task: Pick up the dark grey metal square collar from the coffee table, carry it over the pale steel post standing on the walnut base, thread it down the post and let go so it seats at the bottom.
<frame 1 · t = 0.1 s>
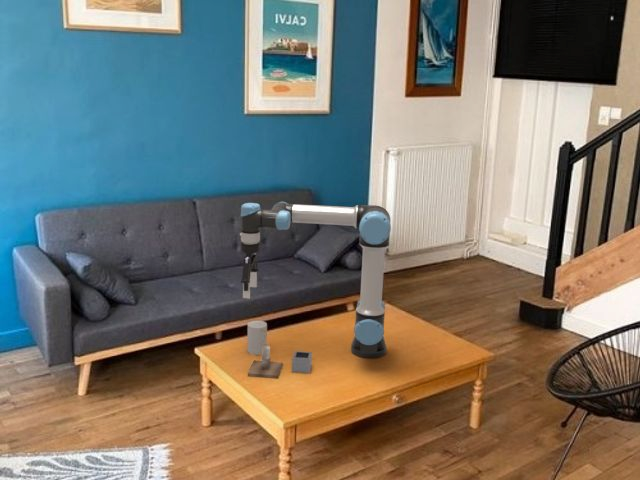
hand: (249, 292, 276), 28 cm above the table, fingers open, 13 cm apart
gold-veined taupe cylinder: (257, 351, 288), on the table
collar: (301, 368, 273), on the table
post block: (265, 370, 270), on the table
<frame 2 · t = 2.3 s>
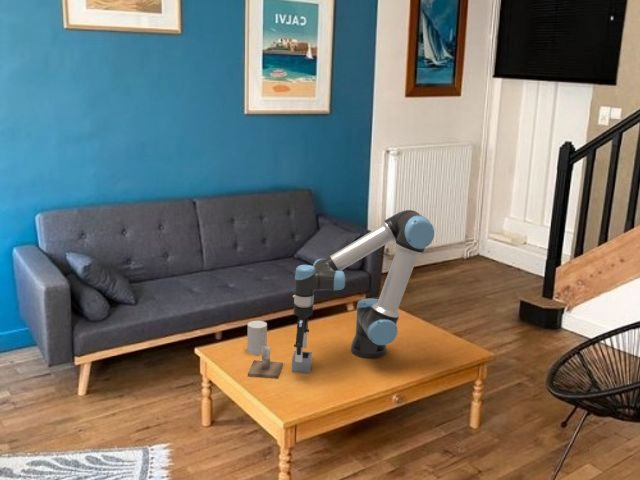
hand: (300, 354, 271), 6 cm above the table, fingers open, 13 cm apart
nothing on the table moved.
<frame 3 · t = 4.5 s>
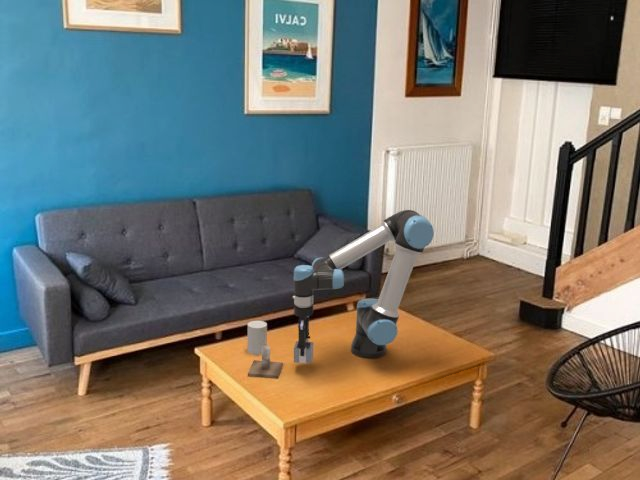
hand: (303, 358, 272), 5 cm above the table, fingers closed on collar, 7 cm apart
collar: (303, 359, 272), point 4 cm above the table, touching gripper
everything else where it was.
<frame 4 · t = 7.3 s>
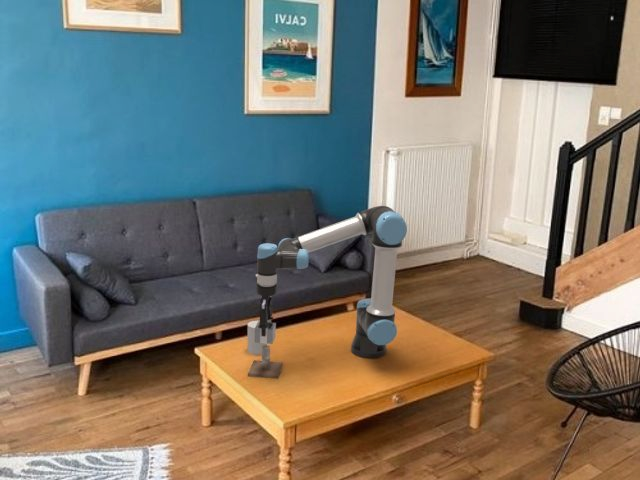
hand: (265, 339, 267), 14 cm above the table, fingers closed on collar, 7 cm apart
collar: (265, 339, 267), point 13 cm above the table, touching gripper
everything else where it was.
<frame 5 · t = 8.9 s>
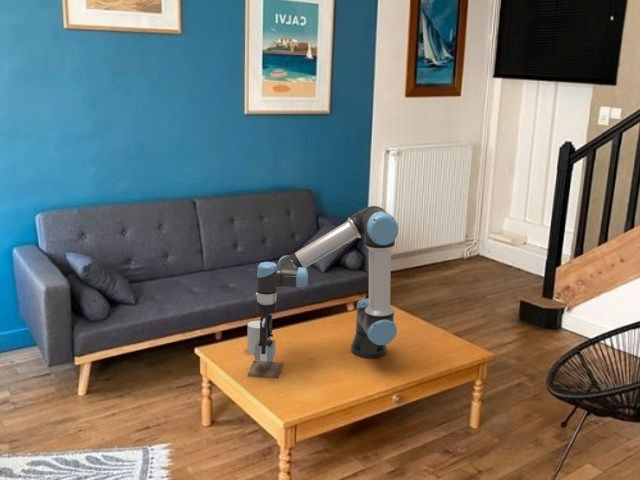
hand: (265, 356, 269), 6 cm above the table, fingers closed on collar, 7 cm apart
collar: (265, 357, 269), point 6 cm above the table, touching gripper
everything else where it was.
when the fingers open (2 cm above the table, at t = 10.2 s): collar stays where it is, resting on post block.
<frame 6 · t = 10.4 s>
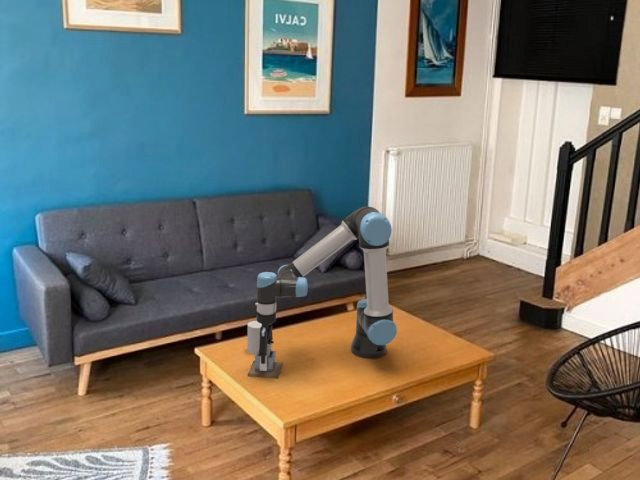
hand: (265, 364, 270), 3 cm above the table, fingers open, 9 cm apart
collar: (265, 367, 270), point 1 cm above the table, touching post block
everything else where it was.
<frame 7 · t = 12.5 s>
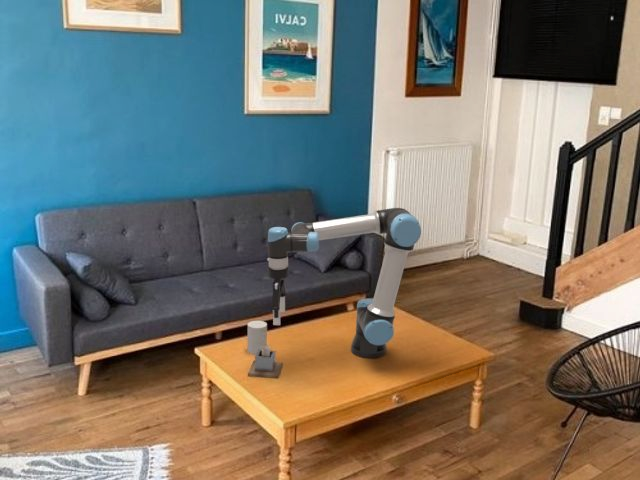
hand: (279, 318, 269), 21 cm above the table, fingers open, 13 cm apart
nothing on the table moved.
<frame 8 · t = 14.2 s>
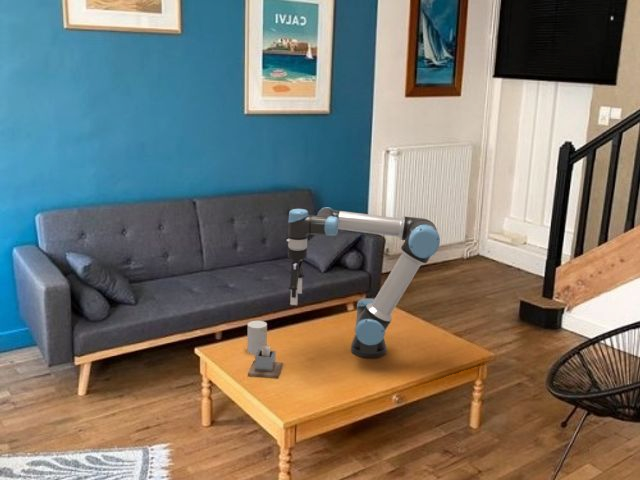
hand: (296, 298, 274), 27 cm above the table, fingers open, 13 cm apart
nothing on the table moved.
at the end: collar 0.2 cm off-centre on the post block, point 1.2 cm above the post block's base; collar tilted 0°; the gripper is holding nothing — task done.
